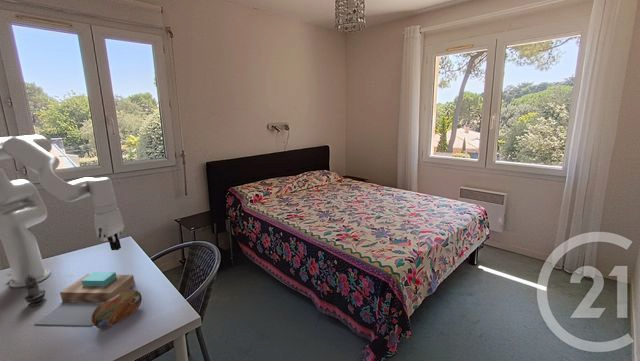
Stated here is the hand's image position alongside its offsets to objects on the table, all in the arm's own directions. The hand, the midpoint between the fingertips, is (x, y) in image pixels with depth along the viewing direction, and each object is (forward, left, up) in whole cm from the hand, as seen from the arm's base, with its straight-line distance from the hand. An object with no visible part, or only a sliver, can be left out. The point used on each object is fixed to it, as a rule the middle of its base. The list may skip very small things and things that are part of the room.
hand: (116, 249), depth 121 cm
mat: (+1, -24, -13) cm, 27 cm away
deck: (-1, -11, -13) cm, 17 cm away
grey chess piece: (-20, -18, -13) cm, 30 cm away
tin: (+18, -25, -13) cm, 34 cm away
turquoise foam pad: (-1, -10, -9) cm, 13 cm away
